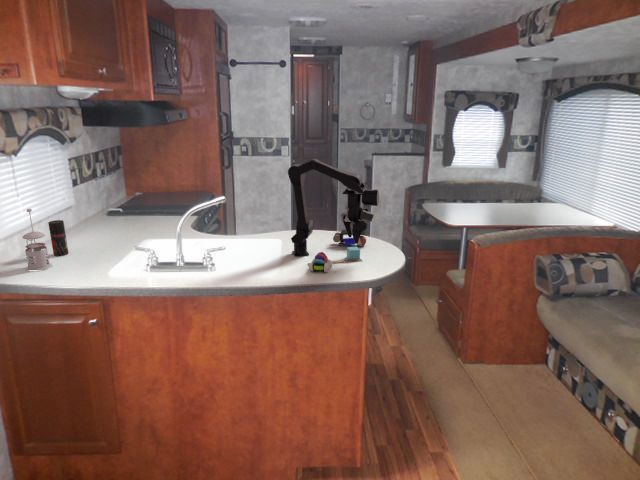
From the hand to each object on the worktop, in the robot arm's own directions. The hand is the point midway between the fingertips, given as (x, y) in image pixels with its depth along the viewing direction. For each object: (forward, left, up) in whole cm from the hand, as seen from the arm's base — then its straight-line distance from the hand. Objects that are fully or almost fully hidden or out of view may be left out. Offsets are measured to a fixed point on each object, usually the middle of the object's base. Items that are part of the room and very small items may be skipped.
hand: (353, 240), depth 214 cm
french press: (-21, -130, -8) cm, 132 cm away
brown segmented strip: (+4, -9, -8) cm, 13 cm away
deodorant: (-37, -125, -8) cm, 131 cm away
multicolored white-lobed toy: (+11, -17, -9) cm, 22 cm away
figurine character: (-18, +4, -8) cm, 21 cm away
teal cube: (0, 0, -8) cm, 8 cm away
